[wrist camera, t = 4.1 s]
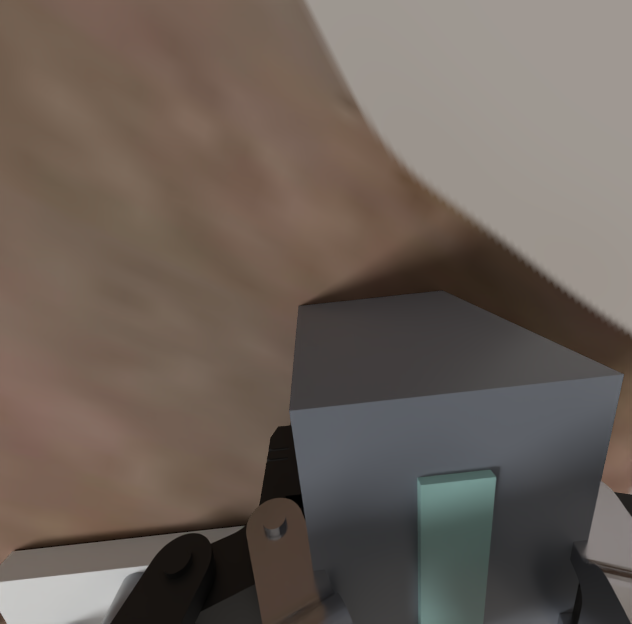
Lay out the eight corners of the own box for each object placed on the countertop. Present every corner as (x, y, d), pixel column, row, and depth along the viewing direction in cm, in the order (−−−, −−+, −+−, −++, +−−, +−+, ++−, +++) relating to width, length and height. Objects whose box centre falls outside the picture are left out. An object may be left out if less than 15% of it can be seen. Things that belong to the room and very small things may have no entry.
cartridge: (298, 306, 10) (288, 417, 4) (442, 290, 10) (634, 379, 4) (323, 506, 13) (339, 752, 7) (438, 493, 13) (555, 728, 7)
